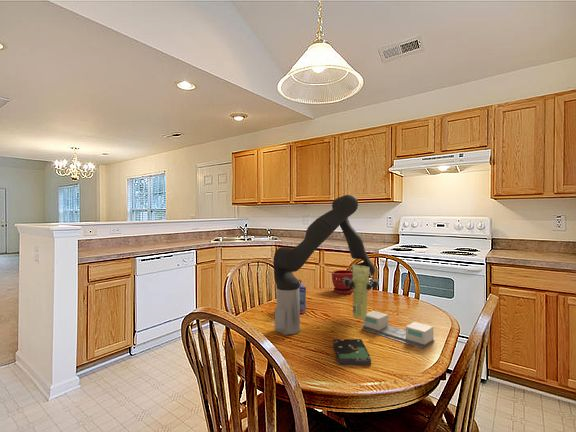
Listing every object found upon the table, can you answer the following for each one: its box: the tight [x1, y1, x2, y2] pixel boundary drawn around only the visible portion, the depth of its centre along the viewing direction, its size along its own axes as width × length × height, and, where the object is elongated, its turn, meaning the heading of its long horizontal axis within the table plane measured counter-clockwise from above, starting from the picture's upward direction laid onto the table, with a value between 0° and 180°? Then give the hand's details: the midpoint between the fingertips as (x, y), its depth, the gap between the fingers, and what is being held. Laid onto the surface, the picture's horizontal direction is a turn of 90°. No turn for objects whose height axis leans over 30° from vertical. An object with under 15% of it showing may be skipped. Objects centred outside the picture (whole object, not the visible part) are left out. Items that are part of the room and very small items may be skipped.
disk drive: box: [332, 338, 372, 366], centre depth 105 cm, size 10×3×15 cm
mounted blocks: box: [362, 310, 434, 345], centre depth 121 cm, size 7×25×4 cm, turn 43°
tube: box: [351, 263, 370, 320], centre depth 119 cm, size 6×5×20 cm
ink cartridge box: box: [298, 278, 307, 314], centre depth 151 cm, size 10×6×14 cm, turn 15°
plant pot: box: [331, 269, 353, 295], centre depth 183 cm, size 13×13×12 cm
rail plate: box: [360, 324, 436, 350], centre depth 121 cm, size 10×25×1 cm, turn 43°
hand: (360, 286), depth 116 cm, fingers closed on tube, 5 cm apart
